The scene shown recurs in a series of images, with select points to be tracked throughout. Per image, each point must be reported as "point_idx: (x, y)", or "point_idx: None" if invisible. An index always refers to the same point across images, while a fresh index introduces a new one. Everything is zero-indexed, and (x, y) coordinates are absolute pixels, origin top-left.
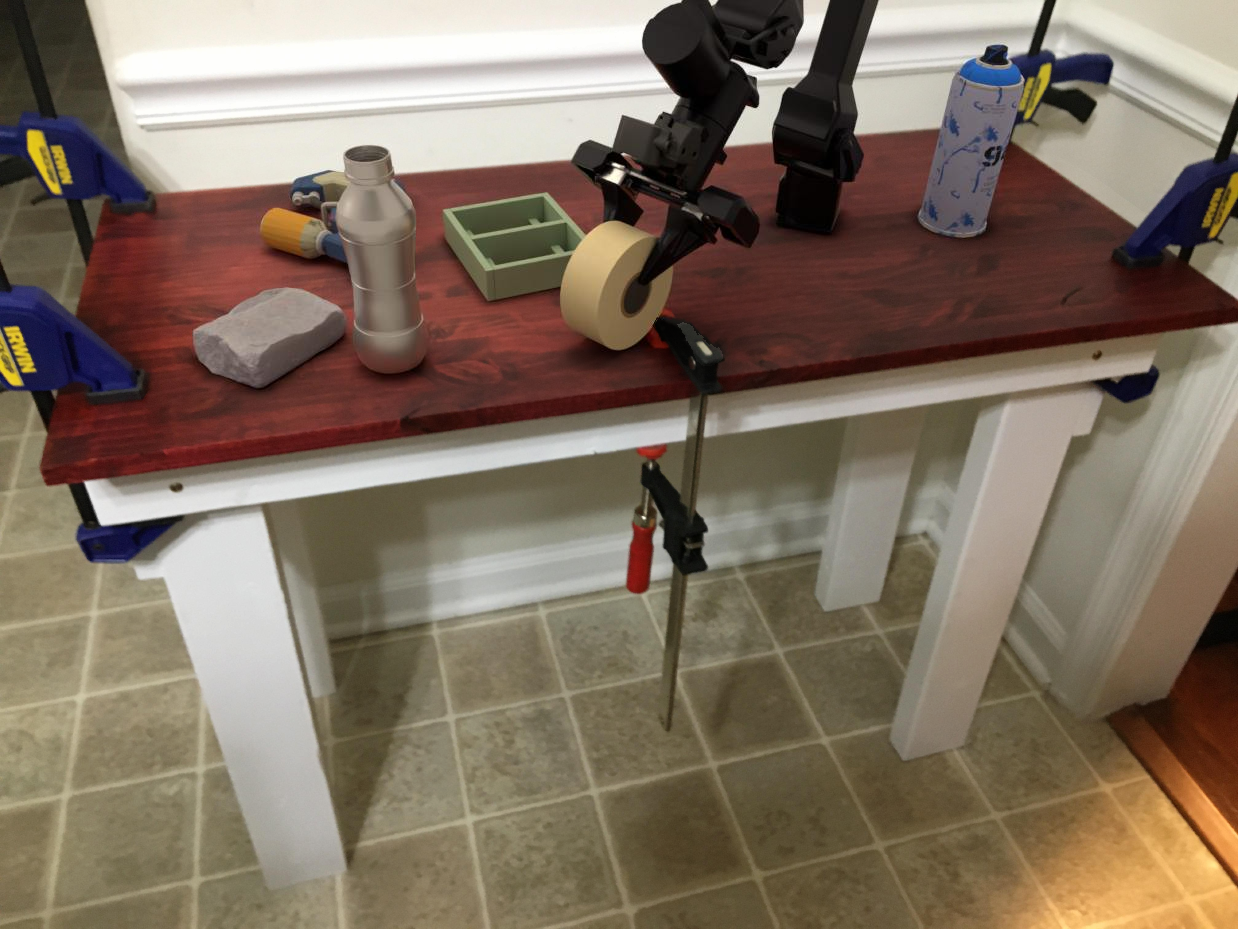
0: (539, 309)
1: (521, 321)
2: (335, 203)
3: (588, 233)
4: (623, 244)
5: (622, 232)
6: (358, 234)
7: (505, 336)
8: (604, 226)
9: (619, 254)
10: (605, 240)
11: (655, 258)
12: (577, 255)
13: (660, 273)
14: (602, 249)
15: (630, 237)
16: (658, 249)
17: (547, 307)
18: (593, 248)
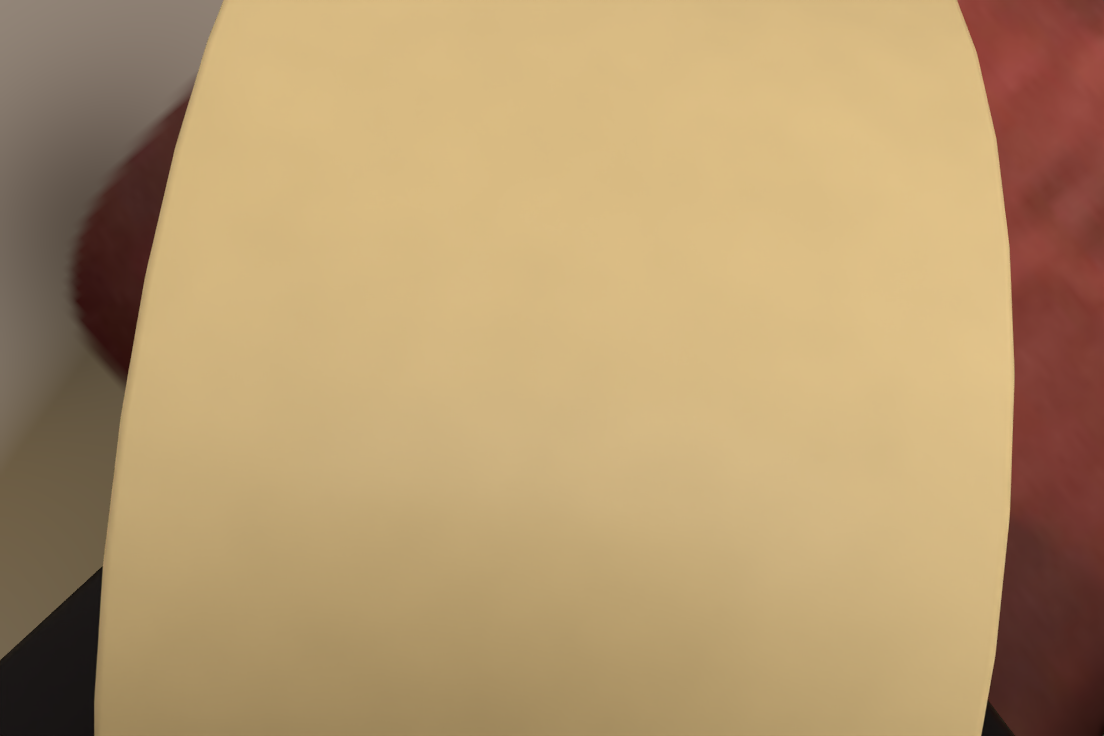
0: (1056, 424)
1: (1055, 261)
2: None
3: (1005, 233)
4: (292, 210)
5: (519, 522)
6: None
7: (1027, 88)
8: (906, 518)
9: (251, 27)
10: (639, 185)
11: (72, 621)
12: None
13: None
14: (572, 39)
15: (294, 446)
16: (24, 728)
17: (1034, 470)
18: (720, 35)
